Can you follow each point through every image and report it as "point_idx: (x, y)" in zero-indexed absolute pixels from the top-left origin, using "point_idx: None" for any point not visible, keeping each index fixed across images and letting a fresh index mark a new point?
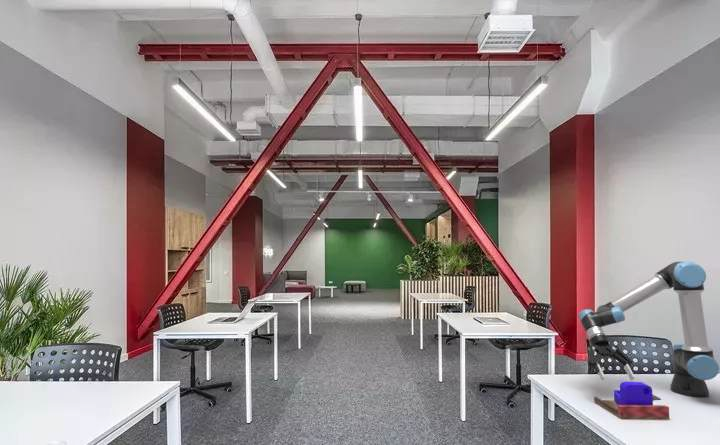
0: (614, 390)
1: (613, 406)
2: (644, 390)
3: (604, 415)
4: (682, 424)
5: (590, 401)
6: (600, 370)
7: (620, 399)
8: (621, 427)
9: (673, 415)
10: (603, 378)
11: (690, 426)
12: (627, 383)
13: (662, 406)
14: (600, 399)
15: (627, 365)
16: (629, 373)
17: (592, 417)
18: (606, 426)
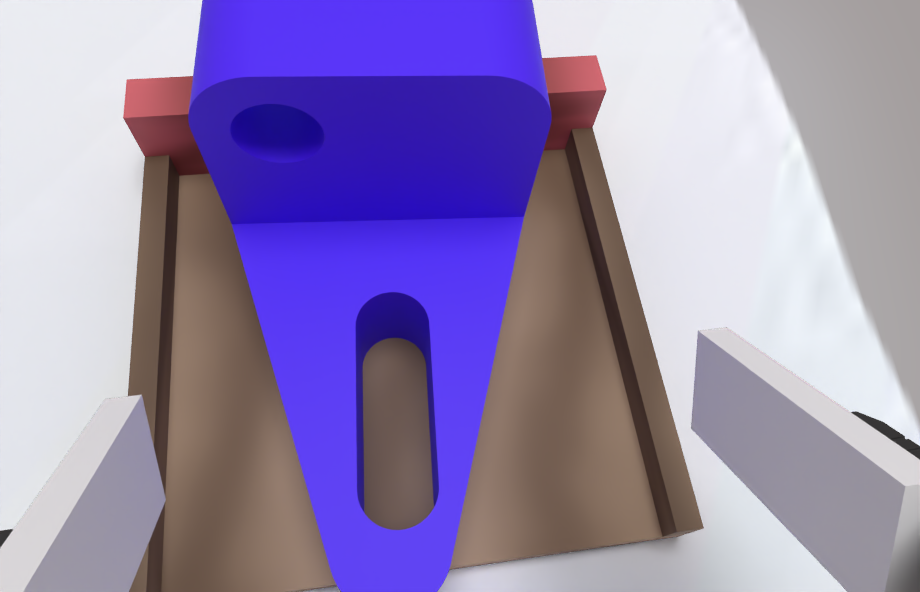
0: (440, 569)
1: (544, 341)
2: (244, 118)
3: (676, 186)
4: (136, 78)
5: (714, 565)
6: (806, 387)
7: (522, 210)
8: (625, 5)
9: (39, 251)
10: (701, 377)
11: (104, 51)
12: (489, 8)
13: (182, 89)
14: (654, 428)
15: (17, 581)
16: (121, 507)
17: (778, 139)
18: (717, 12)
